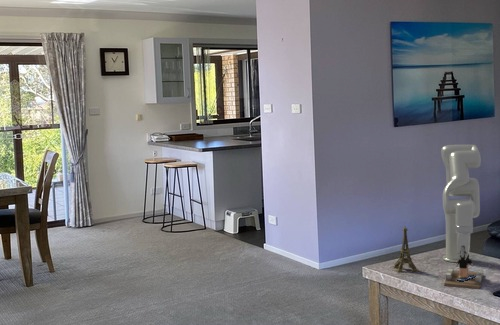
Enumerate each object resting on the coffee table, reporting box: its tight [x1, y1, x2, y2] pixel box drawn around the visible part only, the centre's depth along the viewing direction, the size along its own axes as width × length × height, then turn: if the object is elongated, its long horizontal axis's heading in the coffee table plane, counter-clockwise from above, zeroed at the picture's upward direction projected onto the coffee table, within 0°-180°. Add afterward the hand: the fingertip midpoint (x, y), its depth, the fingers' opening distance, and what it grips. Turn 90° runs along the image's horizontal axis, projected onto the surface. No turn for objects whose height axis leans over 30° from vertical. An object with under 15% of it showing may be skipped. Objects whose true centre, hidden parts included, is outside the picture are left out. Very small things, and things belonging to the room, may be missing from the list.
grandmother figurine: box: [455, 254, 474, 278], centre depth 295 cm, size 8×4×13 cm, turn 93°
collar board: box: [443, 267, 484, 290], centre depth 295 cm, size 22×15×4 cm
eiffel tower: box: [391, 227, 420, 273], centre depth 316 cm, size 11×11×25 cm
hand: (464, 265), depth 295 cm, fingers open, 9 cm apart
